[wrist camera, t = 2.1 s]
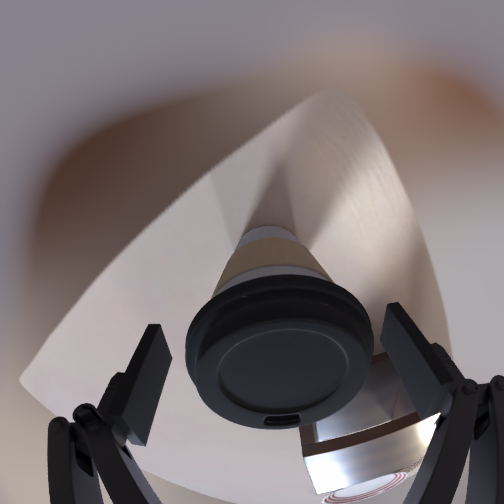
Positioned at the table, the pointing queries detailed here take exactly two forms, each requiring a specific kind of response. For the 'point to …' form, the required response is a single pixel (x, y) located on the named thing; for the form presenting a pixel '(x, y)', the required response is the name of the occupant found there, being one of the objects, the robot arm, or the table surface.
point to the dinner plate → (365, 489)
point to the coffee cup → (278, 337)
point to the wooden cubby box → (367, 433)
